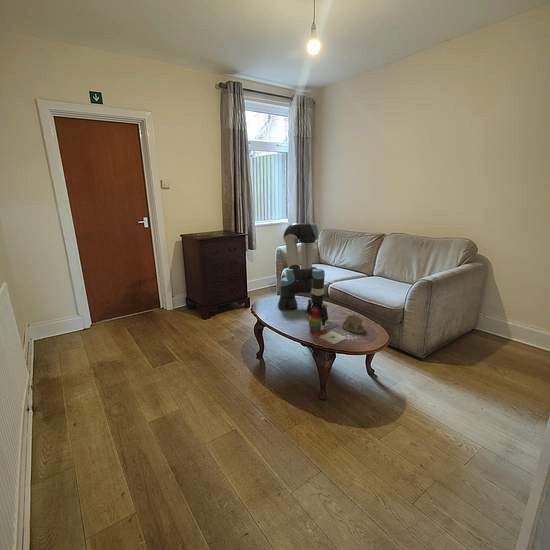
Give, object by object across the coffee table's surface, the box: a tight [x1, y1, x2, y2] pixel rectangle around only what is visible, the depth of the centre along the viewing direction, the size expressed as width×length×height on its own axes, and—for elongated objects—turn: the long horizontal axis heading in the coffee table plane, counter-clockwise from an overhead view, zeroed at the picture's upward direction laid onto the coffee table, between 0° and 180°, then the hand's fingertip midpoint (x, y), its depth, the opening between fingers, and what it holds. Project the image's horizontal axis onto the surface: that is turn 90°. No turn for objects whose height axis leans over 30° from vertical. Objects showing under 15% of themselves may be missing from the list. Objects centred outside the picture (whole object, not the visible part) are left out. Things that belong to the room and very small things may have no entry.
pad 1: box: [324, 319, 339, 331], centre depth 211 cm, size 12×12×1 cm
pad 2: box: [318, 330, 348, 345], centre depth 193 cm, size 12×12×1 cm
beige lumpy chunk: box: [341, 314, 364, 334], centre depth 204 cm, size 14×11×10 cm
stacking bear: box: [308, 306, 328, 336], centre depth 198 cm, size 11×10×18 cm
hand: (316, 326), depth 200 cm, fingers closed on stacking bear, 9 cm apart
